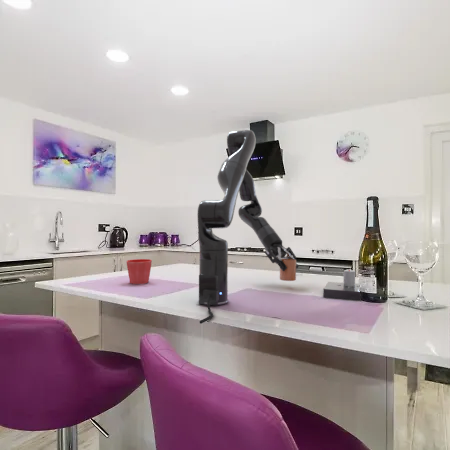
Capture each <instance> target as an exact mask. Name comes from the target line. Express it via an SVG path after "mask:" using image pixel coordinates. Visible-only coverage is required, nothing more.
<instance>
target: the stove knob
mask: <svg viewBox="0 0 450 450" xmlns="http://www.w3.org/2000/svg"><path fill="white" fill-rule="evenodd" d="M343 283H344V286H348V287H354V286H355V284H356V270H353V269H351V268H349V269H345V270H343Z"/></svg>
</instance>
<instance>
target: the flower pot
mask: <svg viewBox="0 0 450 450" xmlns="http://www.w3.org/2000/svg"><path fill="white" fill-rule="evenodd" d="M152 261H153V260H152V259H149V258H148V259H147V258H136V259H128V260H126V268H127V273H128V279H129V283H130V284H131V285H145V284H148V283H149V281H150V276H151V269H152V264H153V263H152Z"/></svg>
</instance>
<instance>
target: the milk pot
mask: <svg viewBox="0 0 450 450" xmlns="http://www.w3.org/2000/svg"><path fill="white" fill-rule="evenodd" d="M281 261H283V262H284V264H285V265H286V267H287V269H286V270H285V271H282V269H281V268H280V267H279V280H280V281H285V282H293V281H297V269H296V263H297V258H295V259H289V258H288V259H283V258H281Z"/></svg>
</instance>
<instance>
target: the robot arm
mask: <svg viewBox="0 0 450 450" xmlns="http://www.w3.org/2000/svg"><path fill="white" fill-rule="evenodd" d="M256 143H257V140H256V135H255V132H254V131H253V130H251V129H242V130H235V131H234V130H232V131H229V132H228V133H227V135H226V146H227V151H228V154H229V156H228V157H227V158H226V159H224V161H223V162H222V163H221V166H220V168H219V170H218V173H217V175H216V176H217V177H216V179H217V184H218V186H219V188H220V189H221V191H222V192H223V195H224V197H223V198H222V199H205V200H201V201H200V203H199V204H198V206H197V215H196V216H197V237H198V238H197V240H198V243H199V248H198V249H199V255H198V256H199V261H198V262H199V263H198V264H199V266H198V270H199V271H198V273H199V275H198V304H199V305H204V306H206V307H207V310H208V314H209V315H208V316H207V317H205V318H203V319H201V320H200V321H199V324H203V323H205V322H207V321H209V320H211V319H212V318H213V317H214V313H213V312H212V309H211V306H214V307H217V306H221V305H227V304H228V303H229V299H228V296H229V295H228V294H229V291H228V289H229V288H228V287H229V286H228V285H229V283H228V282H229V281H228V279H229V274H228V273H229V243H228V241H227V240H226V239H224V238H221V237H219V236H217V235H216V234H215V233H214V232H213V229H219V230H220V229H227V228H229V227H230V226H231V224H232V221H233V218H234V214H235V209H236V203H237V199H238V197H239V198H240V200H241V201H242V202H250V203H247V204H243V205H241V206H240V207H239V208H238V211H237V213H238V214H237V215H238V217H239V218H240V220H241V221H242V222H243V223H244V224H246V225H247V226H248V227H250V228H251V229H252V231H253V232H254V233H255V235H256V237H257V238H258V240H259V241H260V243H261V244H262V246H263V247H264V248H265V251H264V254H265V255H266V257H267V258H268V259H269V260H270V262H271V263H272V264H276V265H277V266H278V267H279V269H280V268H281V269H282V271H285V270H286V269H287V267H286V265H285V264H284V262H283V261H281V259H297V256H296V255H295V253H294V252H293V249H292V248H291V247H289V246H288V247H285V246H284V245H283V240H282V239H281V237H280V236H279V235H278V233H277V232H276V231H275V229H274V228H273V227H272V226H271V224H270V223H269V222H268V220H267V219H266V218H265V217H263V216H262V213H263V209H262V205H261V203H260V202H259V199H258V197H257V193H256V185H255V181H254V177H253V176H252V175H251V173H250V172H249V171H248V169H247V167H248V164H249V161H250V159H251V157H252V155H253V153H254V151H255V148H256ZM238 195H239V196H238ZM298 268H299V265H298V263H297V262H296V270H297V269H298Z"/></svg>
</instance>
